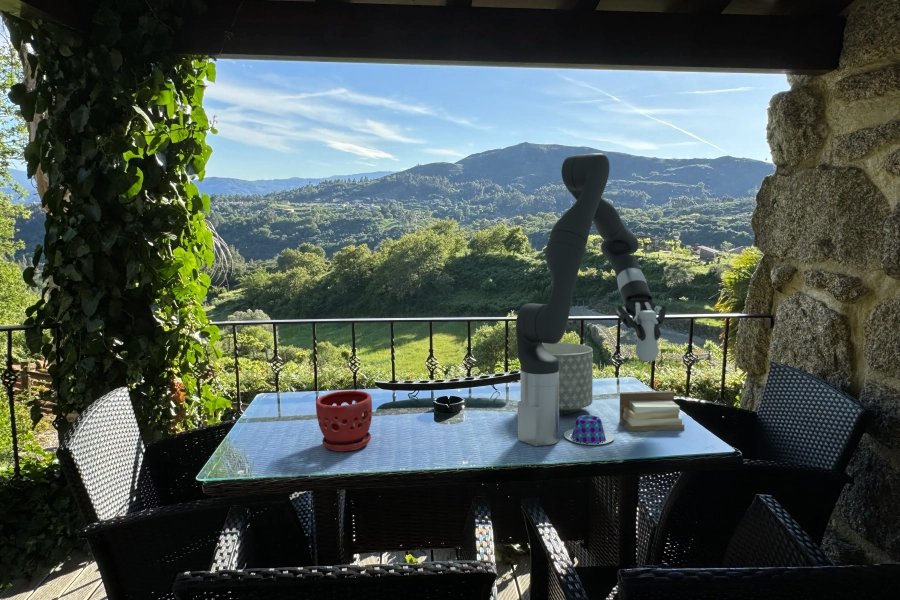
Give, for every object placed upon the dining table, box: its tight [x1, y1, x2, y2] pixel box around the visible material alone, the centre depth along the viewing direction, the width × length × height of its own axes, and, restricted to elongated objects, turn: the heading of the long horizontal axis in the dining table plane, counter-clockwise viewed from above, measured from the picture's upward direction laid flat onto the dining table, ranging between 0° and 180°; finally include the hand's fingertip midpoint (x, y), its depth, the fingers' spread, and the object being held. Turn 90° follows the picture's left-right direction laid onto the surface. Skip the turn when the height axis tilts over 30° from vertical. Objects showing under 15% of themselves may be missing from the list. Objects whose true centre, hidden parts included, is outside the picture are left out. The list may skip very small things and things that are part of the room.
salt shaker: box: [634, 310, 660, 362], centre depth 145 cm, size 6×6×13 cm
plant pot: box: [315, 390, 373, 452], centre depth 133 cm, size 13×13×12 cm
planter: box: [542, 342, 594, 416], centre depth 158 cm, size 19×19×18 cm
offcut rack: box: [619, 390, 685, 432], centre depth 143 cm, size 8×14×8 cm, turn 92°
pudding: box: [563, 414, 615, 446], centre depth 135 cm, size 12×12×5 cm
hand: (650, 338), depth 143 cm, fingers closed on salt shaker, 3 cm apart
